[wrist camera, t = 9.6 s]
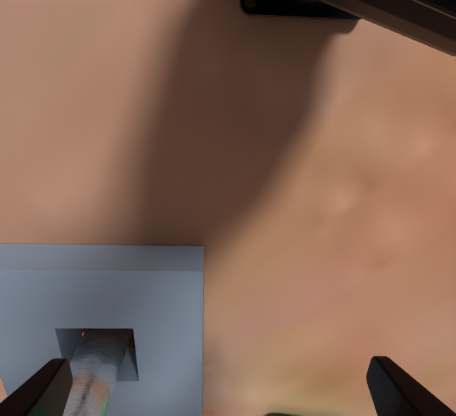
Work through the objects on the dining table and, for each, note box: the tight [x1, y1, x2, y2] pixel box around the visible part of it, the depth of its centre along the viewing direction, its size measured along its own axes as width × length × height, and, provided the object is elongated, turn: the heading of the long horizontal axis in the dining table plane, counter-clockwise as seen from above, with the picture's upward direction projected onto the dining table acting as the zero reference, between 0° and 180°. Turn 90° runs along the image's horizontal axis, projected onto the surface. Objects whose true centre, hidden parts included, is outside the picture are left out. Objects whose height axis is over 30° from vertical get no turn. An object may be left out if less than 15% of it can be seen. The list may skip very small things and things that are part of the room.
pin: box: [63, 328, 133, 416], centre depth 19 cm, size 3×3×10 cm
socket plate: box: [0, 244, 204, 416], centre depth 22 cm, size 14×14×3 cm
